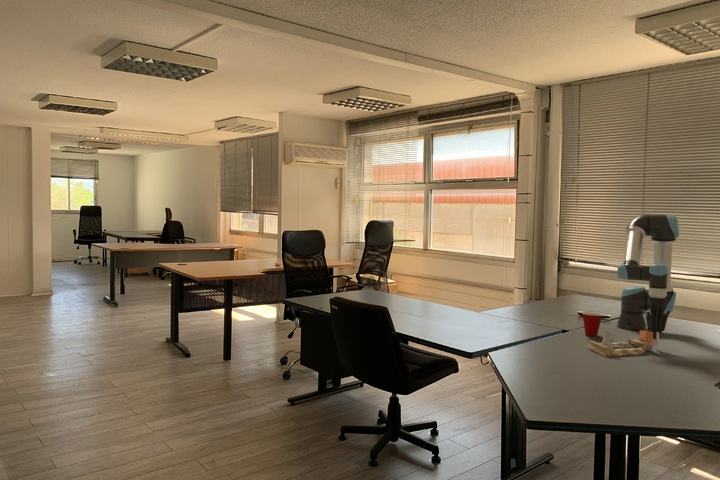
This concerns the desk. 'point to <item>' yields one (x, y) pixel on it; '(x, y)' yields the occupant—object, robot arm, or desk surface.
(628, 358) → the desk surface
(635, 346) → the grey orange angled block
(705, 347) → the desk surface
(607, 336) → the flask
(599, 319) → the plastic cup
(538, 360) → the desk surface
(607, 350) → the wooden tray
